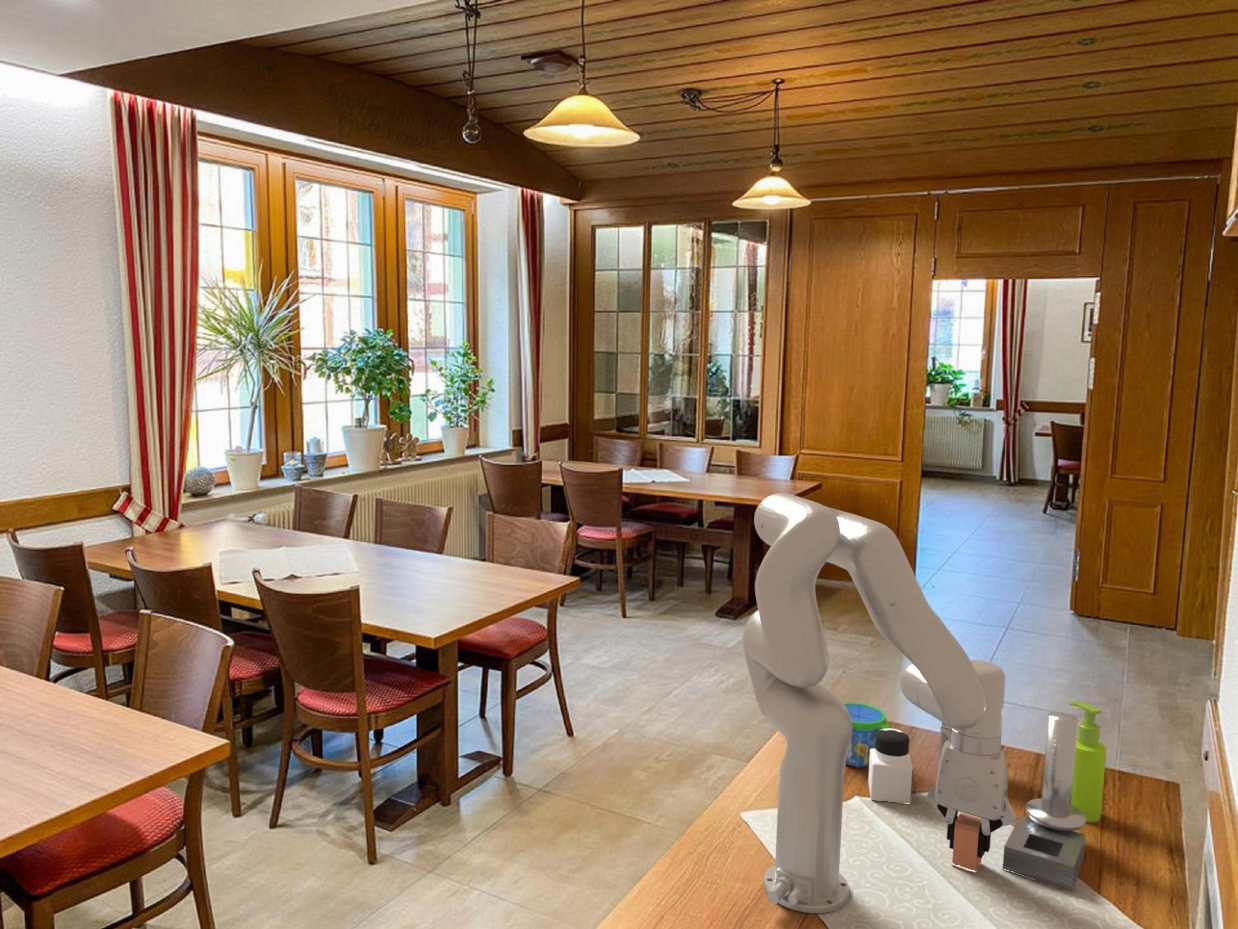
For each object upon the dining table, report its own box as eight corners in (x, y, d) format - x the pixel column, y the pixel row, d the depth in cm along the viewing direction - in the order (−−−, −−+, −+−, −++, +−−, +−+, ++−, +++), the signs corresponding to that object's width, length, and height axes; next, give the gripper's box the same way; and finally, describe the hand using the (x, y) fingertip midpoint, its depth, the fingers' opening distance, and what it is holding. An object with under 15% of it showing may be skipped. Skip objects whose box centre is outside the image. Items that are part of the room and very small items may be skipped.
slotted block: (1071, 891, 138) (1083, 754, 135) (1002, 869, 144) (1012, 737, 141) (1090, 840, 153) (1100, 715, 150) (1026, 822, 159) (1035, 702, 156)
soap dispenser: (1075, 801, 167) (1084, 697, 164) (1108, 819, 160) (1117, 711, 158) (1051, 806, 164) (1060, 701, 162) (1083, 824, 158) (1092, 715, 156)
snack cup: (905, 768, 179) (908, 719, 178) (872, 782, 173) (875, 731, 171) (842, 741, 191) (844, 695, 190) (809, 753, 185) (811, 706, 184)
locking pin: (975, 873, 142) (978, 828, 141) (952, 866, 144) (955, 821, 143) (981, 863, 145) (984, 819, 144) (958, 856, 147) (961, 812, 146)
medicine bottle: (911, 805, 164) (915, 742, 162) (870, 801, 165) (874, 738, 164) (906, 787, 171) (910, 726, 169) (868, 783, 172) (871, 723, 171)
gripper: (915, 734, 144) (908, 843, 146) (1026, 762, 135) (1018, 878, 137) (928, 719, 150) (922, 824, 152) (1036, 745, 141) (1028, 856, 143)
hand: (967, 848), depth 144 cm, fingers closed on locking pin, 3 cm apart
